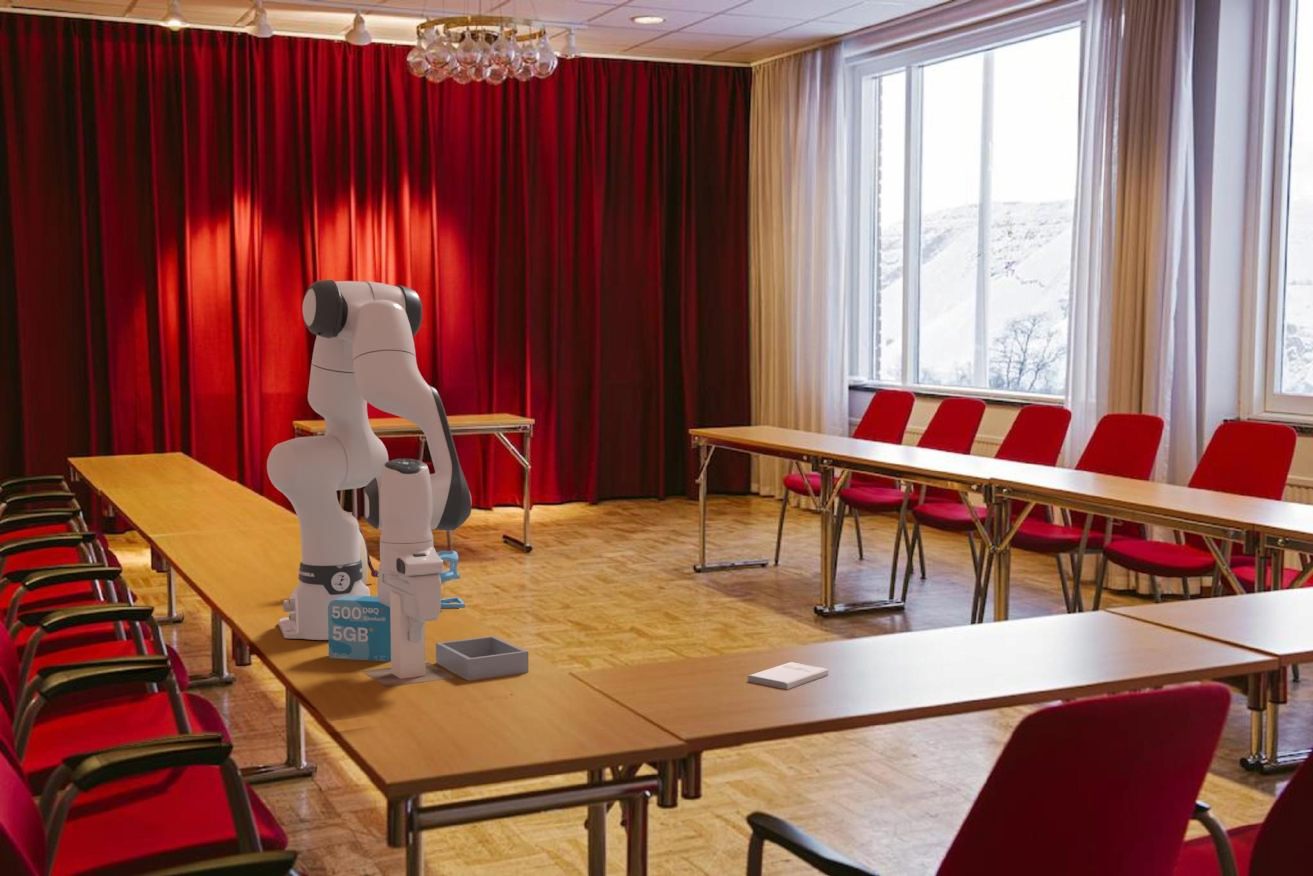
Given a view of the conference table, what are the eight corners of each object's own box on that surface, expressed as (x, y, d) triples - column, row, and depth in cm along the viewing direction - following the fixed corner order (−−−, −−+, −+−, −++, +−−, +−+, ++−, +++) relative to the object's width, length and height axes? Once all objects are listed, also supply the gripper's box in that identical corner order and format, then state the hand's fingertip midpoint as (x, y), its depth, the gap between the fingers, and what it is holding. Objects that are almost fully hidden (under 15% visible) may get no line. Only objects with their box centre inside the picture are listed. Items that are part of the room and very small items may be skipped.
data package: (328, 666, 240) (327, 599, 239) (339, 660, 244) (338, 594, 243) (391, 670, 237) (390, 602, 236) (401, 664, 241) (400, 597, 240)
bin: (436, 671, 236) (436, 643, 235) (494, 663, 241) (493, 635, 241) (468, 689, 224) (468, 659, 223) (528, 680, 230) (528, 651, 229)
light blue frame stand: (421, 604, 295) (420, 549, 294) (459, 601, 298) (458, 547, 297) (426, 610, 288) (425, 555, 287) (465, 608, 290) (464, 552, 289)
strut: (391, 673, 229) (390, 591, 227) (416, 669, 231) (414, 588, 230) (400, 678, 225) (399, 595, 224) (425, 675, 227) (424, 592, 226)
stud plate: (362, 679, 230) (361, 656, 230) (428, 670, 236) (428, 648, 236) (386, 696, 220) (386, 671, 219) (455, 686, 226) (455, 662, 226)
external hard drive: (747, 684, 229) (789, 669, 239) (787, 692, 224) (828, 677, 234) (747, 674, 229) (789, 660, 239) (787, 682, 224) (828, 668, 233)
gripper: (367, 550, 233) (368, 629, 235) (410, 567, 216) (411, 652, 217) (402, 547, 237) (403, 625, 238) (447, 564, 219) (448, 648, 220)
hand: (407, 638), depth 227 cm, fingers closed on strut, 4 cm apart
